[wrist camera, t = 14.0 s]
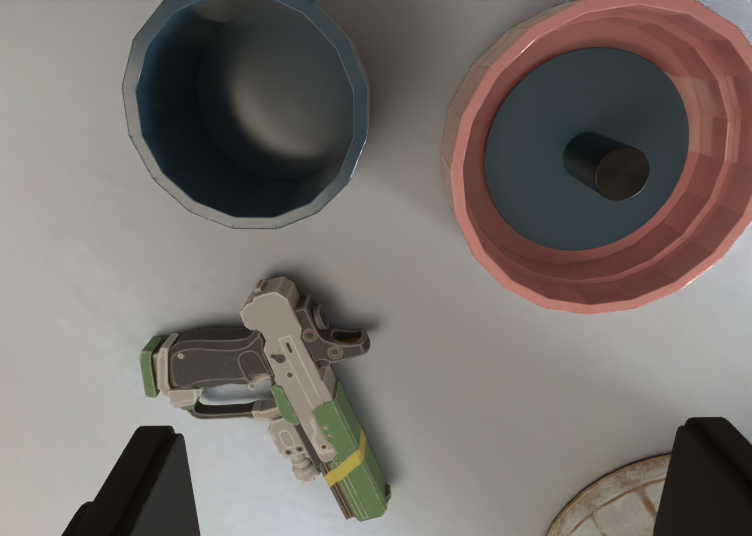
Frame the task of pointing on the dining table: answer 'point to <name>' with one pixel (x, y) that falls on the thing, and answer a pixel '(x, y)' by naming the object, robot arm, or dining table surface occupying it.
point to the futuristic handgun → (280, 388)
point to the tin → (247, 107)
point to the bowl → (692, 193)
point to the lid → (586, 148)
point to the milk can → (617, 503)
